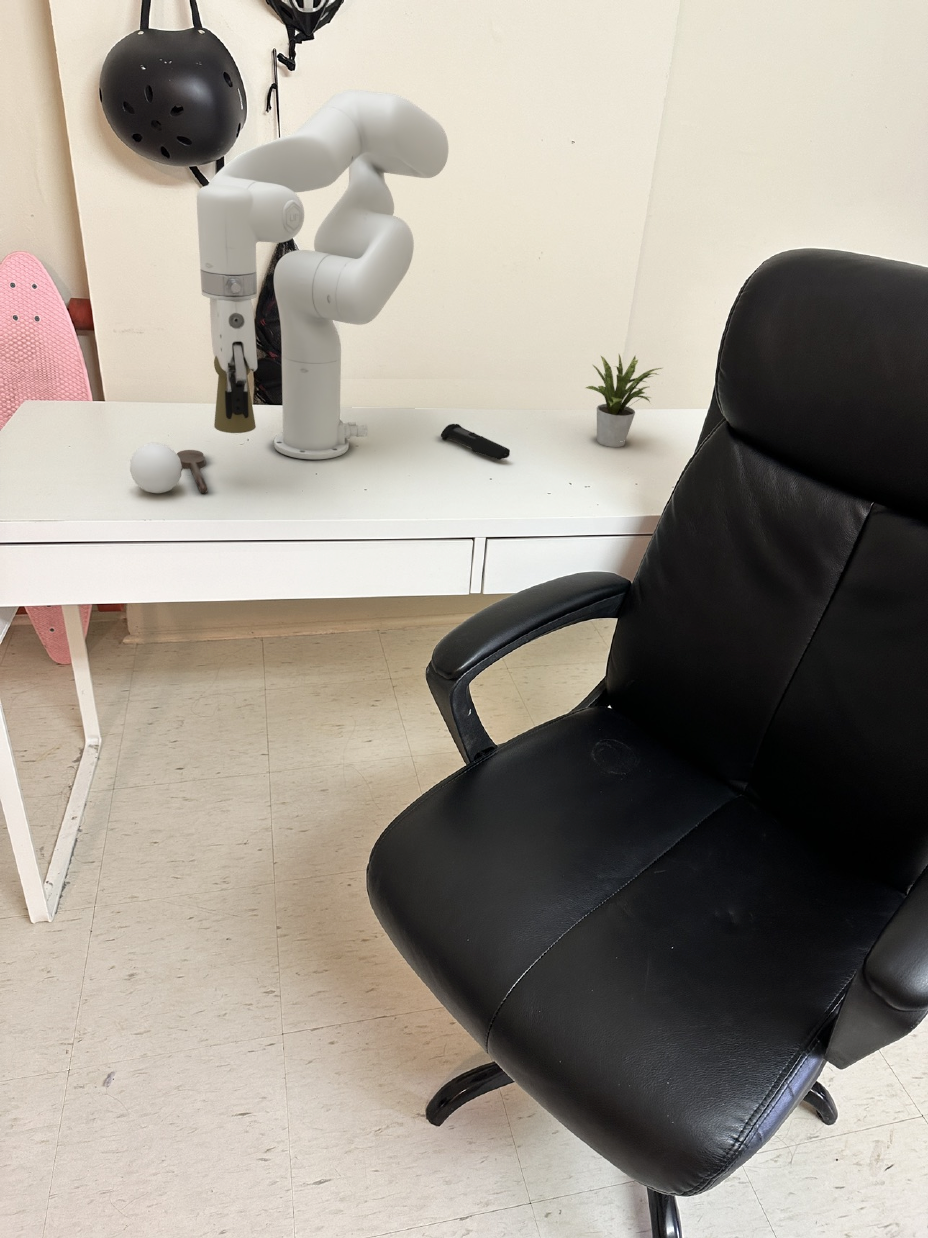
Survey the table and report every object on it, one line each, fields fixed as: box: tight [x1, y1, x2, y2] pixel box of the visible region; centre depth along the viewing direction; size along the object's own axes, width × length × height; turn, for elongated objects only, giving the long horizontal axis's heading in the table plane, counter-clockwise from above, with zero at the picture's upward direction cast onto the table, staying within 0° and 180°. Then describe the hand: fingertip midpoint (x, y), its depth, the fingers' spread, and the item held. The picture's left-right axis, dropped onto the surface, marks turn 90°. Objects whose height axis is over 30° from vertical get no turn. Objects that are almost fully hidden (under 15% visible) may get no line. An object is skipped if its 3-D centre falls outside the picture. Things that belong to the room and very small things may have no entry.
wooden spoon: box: [176, 449, 209, 494], centre depth 147 cm, size 16×4×1 cm, turn 22°
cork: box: [213, 356, 257, 434], centre depth 138 cm, size 6×6×11 cm
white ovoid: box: [129, 442, 184, 494], centre depth 140 cm, size 10×7×7 cm
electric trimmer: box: [440, 423, 511, 461], centre depth 166 cm, size 4×16×3 cm, turn 42°
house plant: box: [585, 354, 663, 448], centre depth 171 cm, size 14×14×16 cm
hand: (234, 411), depth 140 cm, fingers closed on cork, 3 cm apart
